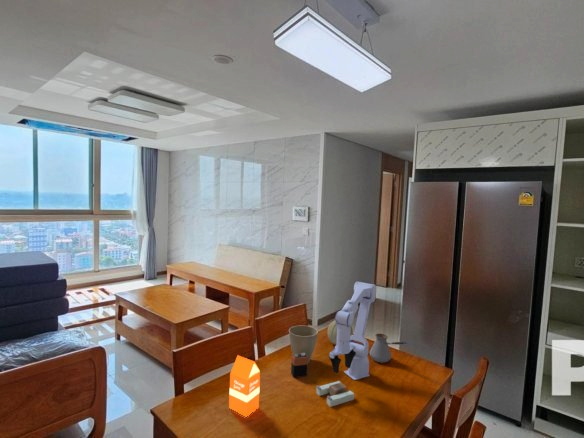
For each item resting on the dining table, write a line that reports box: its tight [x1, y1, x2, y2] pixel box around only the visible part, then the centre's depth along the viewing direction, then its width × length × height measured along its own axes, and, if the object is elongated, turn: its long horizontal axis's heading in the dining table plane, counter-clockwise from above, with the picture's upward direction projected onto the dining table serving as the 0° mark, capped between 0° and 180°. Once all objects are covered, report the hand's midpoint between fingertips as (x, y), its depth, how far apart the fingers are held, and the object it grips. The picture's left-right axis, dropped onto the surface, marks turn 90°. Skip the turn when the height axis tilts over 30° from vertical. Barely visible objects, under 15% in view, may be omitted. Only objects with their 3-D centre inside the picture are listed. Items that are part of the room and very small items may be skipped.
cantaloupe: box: [327, 319, 354, 346], centre depth 184 cm, size 15×15×15 cm
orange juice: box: [228, 354, 261, 418], centre depth 122 cm, size 8×9×20 cm
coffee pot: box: [368, 333, 409, 364], centre depth 164 cm, size 21×12×15 cm, turn 34°
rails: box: [315, 380, 355, 408], centre depth 133 cm, size 12×10×3 cm
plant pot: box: [288, 324, 319, 364], centre depth 162 cm, size 15×15×16 cm
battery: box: [290, 353, 309, 378], centre depth 149 cm, size 4×7×10 cm, turn 108°
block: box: [328, 382, 347, 396], centre depth 134 cm, size 6×4×4 cm, turn 119°
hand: (341, 369), depth 137 cm, fingers open, 7 cm apart
